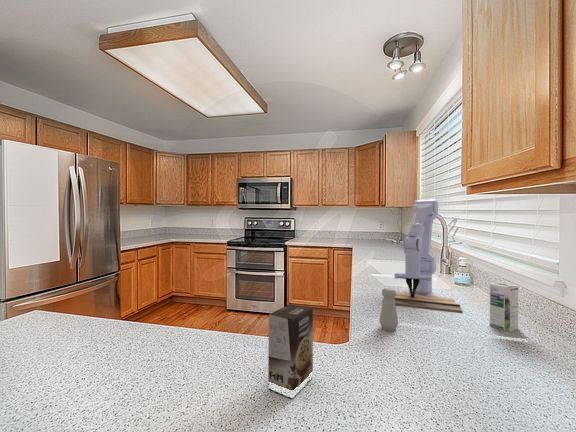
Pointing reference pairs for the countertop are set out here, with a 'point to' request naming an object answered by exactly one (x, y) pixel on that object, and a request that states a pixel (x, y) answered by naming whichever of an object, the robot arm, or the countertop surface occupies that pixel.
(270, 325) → the coffee box
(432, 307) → the walnut board
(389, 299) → the salt shaker
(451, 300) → the teak plank
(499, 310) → the syrup box
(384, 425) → the countertop surface
